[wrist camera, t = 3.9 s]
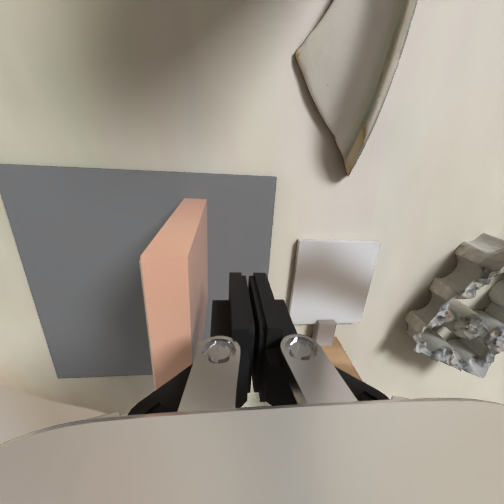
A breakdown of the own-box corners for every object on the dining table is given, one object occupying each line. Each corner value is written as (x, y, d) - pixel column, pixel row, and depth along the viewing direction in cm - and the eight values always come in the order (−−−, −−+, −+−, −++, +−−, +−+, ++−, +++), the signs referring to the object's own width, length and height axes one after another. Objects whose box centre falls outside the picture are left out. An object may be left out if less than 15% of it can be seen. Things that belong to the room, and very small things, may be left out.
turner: (346, 362, 24) (383, 429, 18) (281, 365, 23) (300, 435, 17) (377, 240, 19) (439, 280, 14) (297, 239, 18) (329, 279, 13)
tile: (207, 199, 16) (187, 256, 8) (208, 295, 19) (194, 413, 11) (181, 198, 16) (135, 256, 8) (186, 295, 19) (155, 415, 10)
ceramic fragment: (349, 175, 17) (382, 181, 14) (274, 164, 17) (289, 168, 13) (427, -124, 12) (510, -233, 9) (326, -160, 12) (372, -294, 8)
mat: (275, 176, 17) (276, 177, 16) (258, 366, 23) (259, 369, 22) (-3, 163, 15) (-9, 164, 14) (60, 374, 21) (58, 378, 20)
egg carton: (472, 220, 20) (531, 238, 16) (533, 258, 22) (599, 282, 18) (387, 326, 23) (419, 362, 19) (447, 351, 25) (487, 388, 21)
